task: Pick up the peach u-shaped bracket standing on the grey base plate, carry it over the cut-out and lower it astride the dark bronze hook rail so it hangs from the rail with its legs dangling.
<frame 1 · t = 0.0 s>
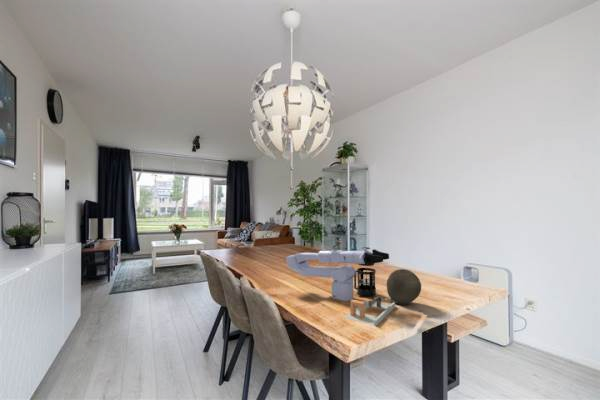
hand: (385, 257, 113), 22 cm above the table, tool horizontal, fingers open, 7 cm apart
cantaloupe: (403, 304, 120), on the table
grey base plate: (370, 314, 108), on the table
french press: (365, 294, 133), on the table
hook arm: (374, 313, 109), resting in grey base plate
peach u-shaped bracket: (357, 315, 104), point 1 cm above the table, touching grey base plate
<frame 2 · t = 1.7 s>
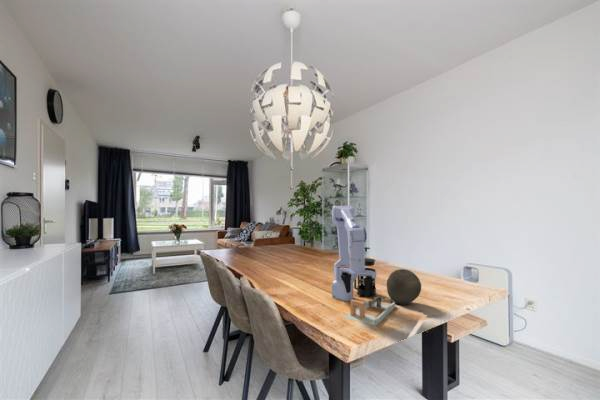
hand: (357, 294, 104), 9 cm above the table, tool pointing down, fingers open, 7 cm apart
nothing on the table moved.
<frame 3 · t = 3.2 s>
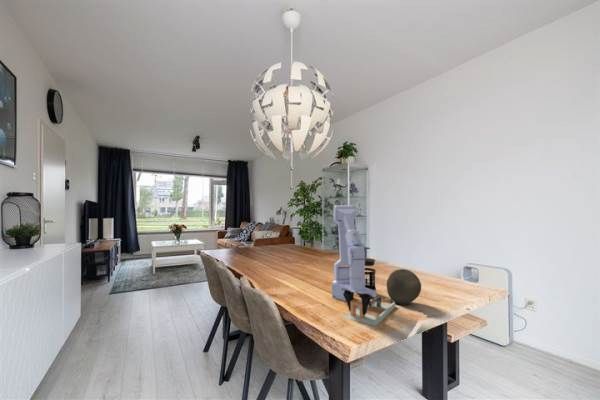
hand: (357, 312, 104), 3 cm above the table, tool pointing down, fingers closed on peach u-shaped bracket, 5 cm apart
peach u-shaped bracket: (357, 315, 104), point 1 cm above the table, touching gripper, grey base plate
everything else where it was.
when the fingers open (4 cm above the table, at t = 7.2 s): peach u-shaped bracket drops 1 cm, resting on hook arm.
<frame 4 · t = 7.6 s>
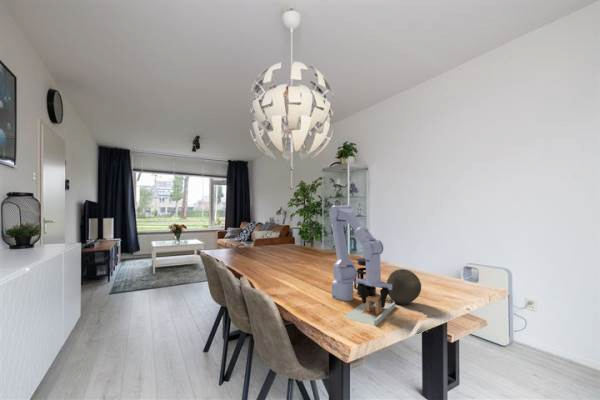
hand: (373, 304, 108), 4 cm above the table, tool pointing down, fingers open, 7 cm apart
peach u-shaped bracket: (373, 311, 108), point 1 cm above the table, touching hook arm
everything else where it was.
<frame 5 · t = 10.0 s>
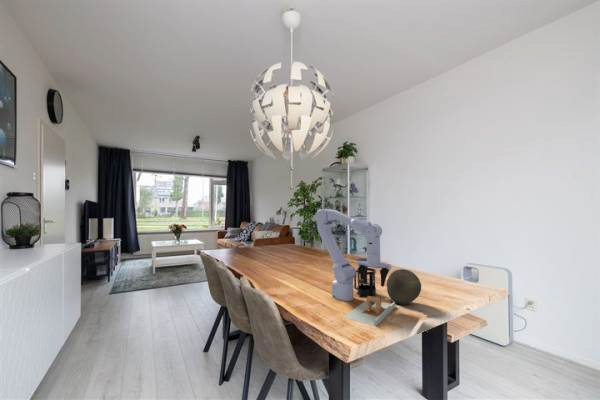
hand: (373, 284, 115), 10 cm above the table, tool pointing down, fingers open, 7 cm apart
nothing on the table moved.
at the end: peach u-shaped bracket 0.6 cm off-centre on the hook arm, point 1.3 cm above the hook arm's base; peach u-shaped bracket touching hook arm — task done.
